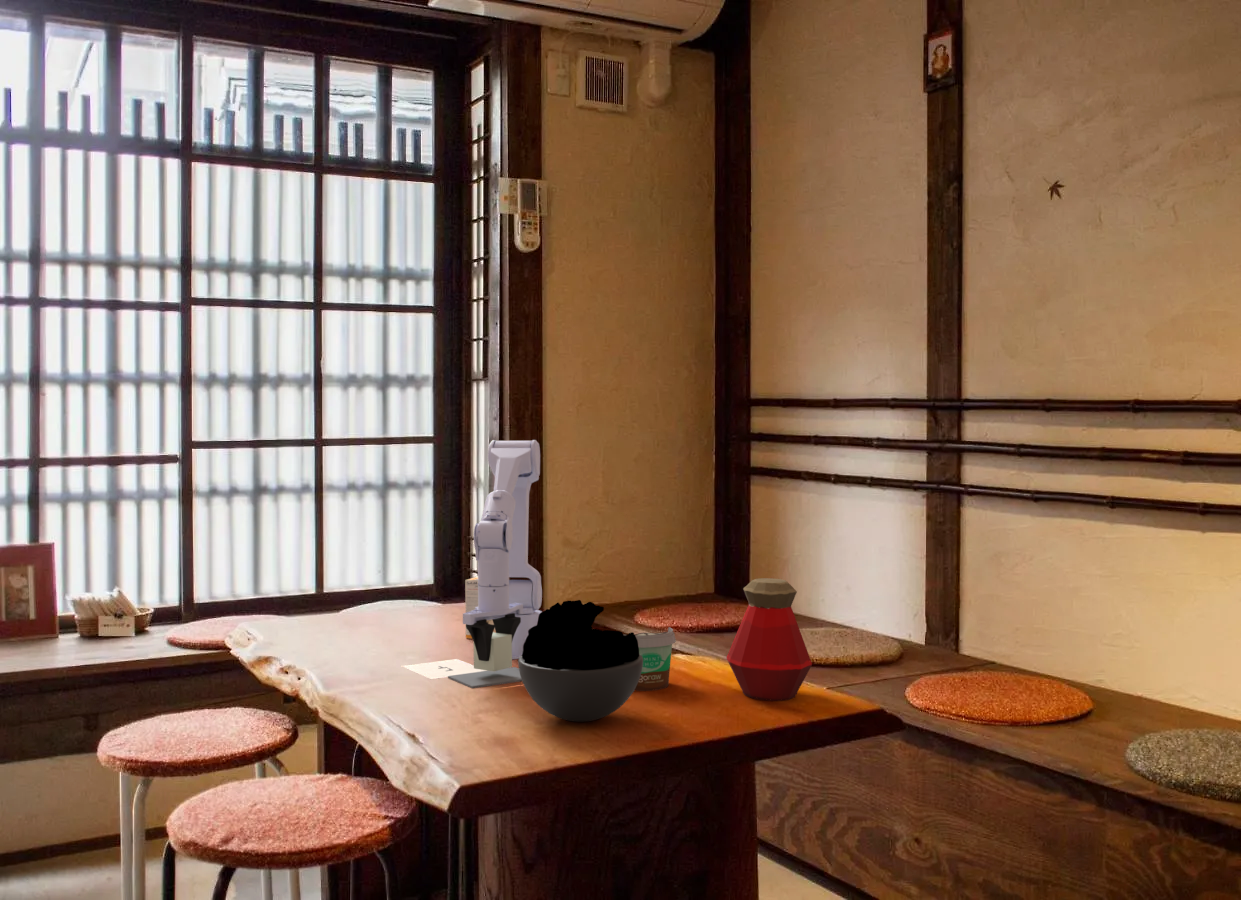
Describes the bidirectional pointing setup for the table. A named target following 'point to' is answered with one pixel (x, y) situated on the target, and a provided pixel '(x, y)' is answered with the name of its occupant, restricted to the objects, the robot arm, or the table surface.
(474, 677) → the slate mat
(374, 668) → the table surface
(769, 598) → the bottle
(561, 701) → the bowl of black rocks
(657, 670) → the food container
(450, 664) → the card
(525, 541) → the robot arm
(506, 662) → the sage block
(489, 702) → the table surface
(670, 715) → the table surface
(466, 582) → the supplement box
